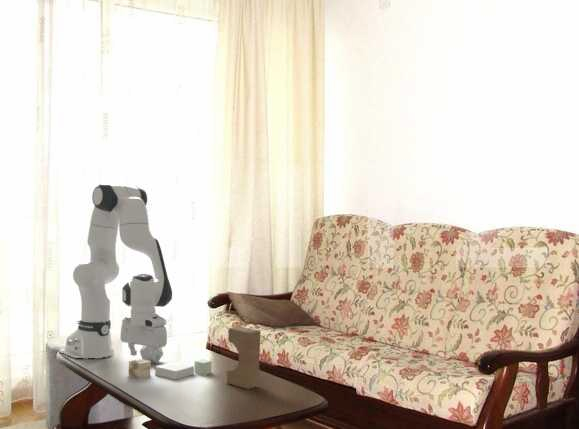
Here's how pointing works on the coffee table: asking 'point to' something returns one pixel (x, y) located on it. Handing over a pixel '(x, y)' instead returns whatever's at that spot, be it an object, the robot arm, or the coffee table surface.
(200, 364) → the sage cube
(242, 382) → the decorative block
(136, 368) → the beech cube
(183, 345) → the coffee table surface
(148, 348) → the die
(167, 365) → the foundation slab
